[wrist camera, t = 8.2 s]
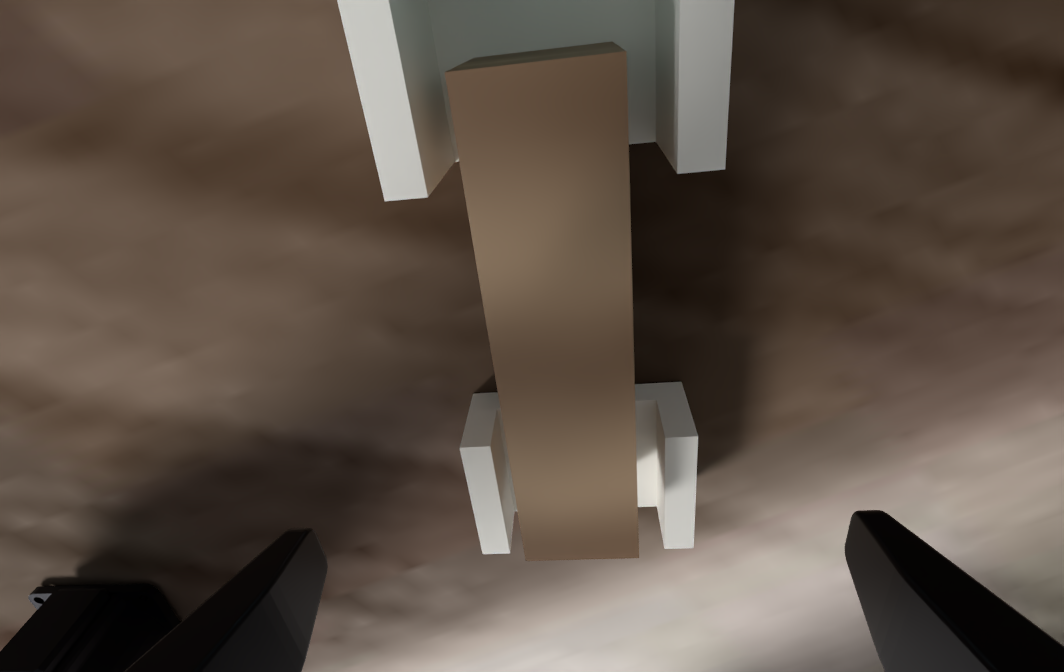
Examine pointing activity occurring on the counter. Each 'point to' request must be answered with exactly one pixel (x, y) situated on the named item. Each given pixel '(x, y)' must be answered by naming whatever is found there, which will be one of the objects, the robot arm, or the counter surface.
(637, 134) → the rail brackets
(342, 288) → the counter surface
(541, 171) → the rail
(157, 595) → the robot arm
